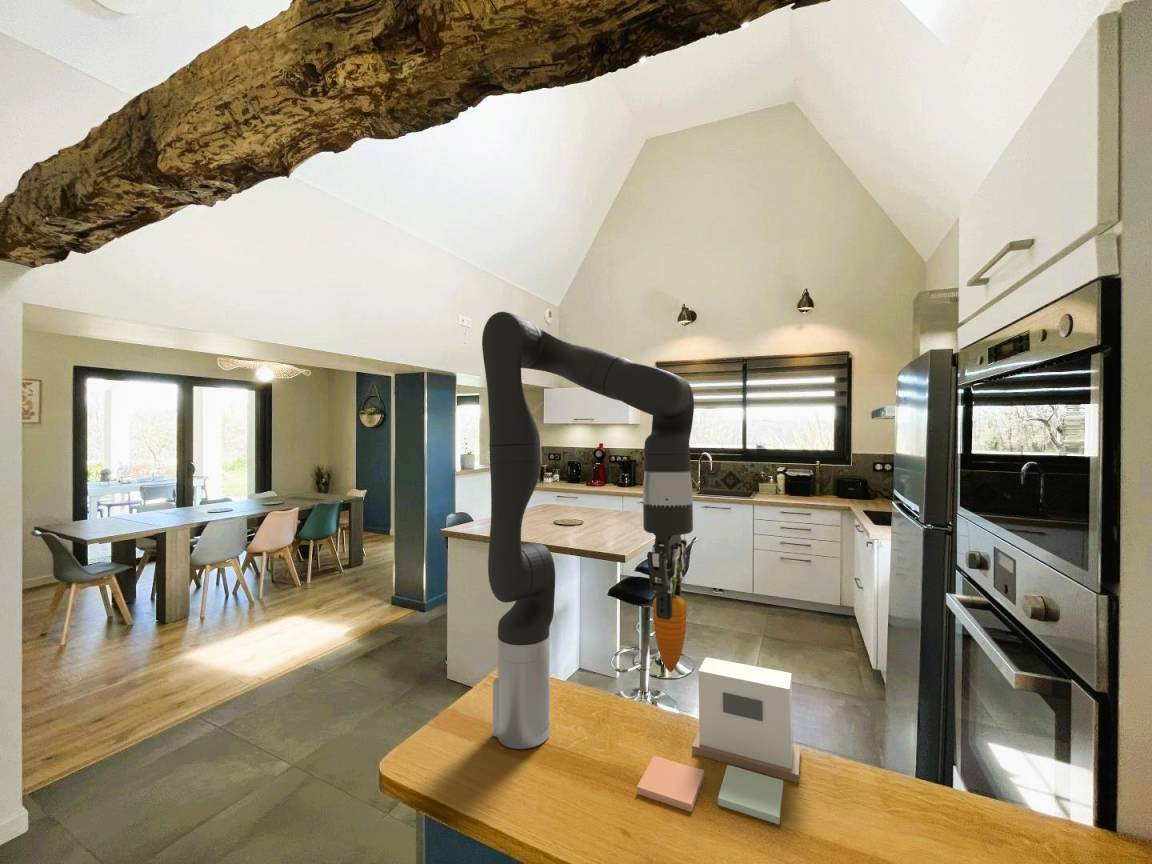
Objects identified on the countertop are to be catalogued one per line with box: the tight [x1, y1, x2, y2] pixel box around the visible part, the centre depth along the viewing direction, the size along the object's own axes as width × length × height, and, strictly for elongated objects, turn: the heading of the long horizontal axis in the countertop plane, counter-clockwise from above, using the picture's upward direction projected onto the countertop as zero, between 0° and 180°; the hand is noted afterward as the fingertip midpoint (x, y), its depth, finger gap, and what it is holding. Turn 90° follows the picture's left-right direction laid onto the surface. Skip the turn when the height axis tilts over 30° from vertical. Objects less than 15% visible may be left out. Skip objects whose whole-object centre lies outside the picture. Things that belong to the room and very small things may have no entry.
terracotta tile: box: [636, 755, 705, 813], centre depth 71 cm, size 8×8×1 cm
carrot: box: [652, 577, 687, 673], centre depth 73 cm, size 5×5×15 cm
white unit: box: [691, 656, 801, 784], centre depth 79 cm, size 16×8×13 cm, turn 63°
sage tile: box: [717, 764, 784, 826], centre depth 69 cm, size 8×8×1 cm
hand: (669, 612), depth 73 cm, fingers closed on carrot, 4 cm apart
